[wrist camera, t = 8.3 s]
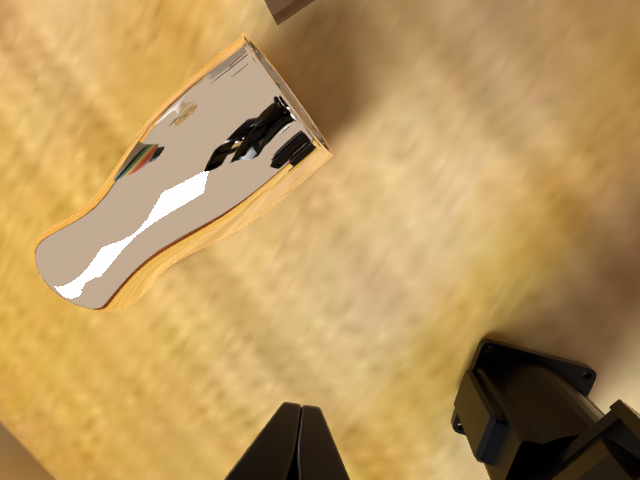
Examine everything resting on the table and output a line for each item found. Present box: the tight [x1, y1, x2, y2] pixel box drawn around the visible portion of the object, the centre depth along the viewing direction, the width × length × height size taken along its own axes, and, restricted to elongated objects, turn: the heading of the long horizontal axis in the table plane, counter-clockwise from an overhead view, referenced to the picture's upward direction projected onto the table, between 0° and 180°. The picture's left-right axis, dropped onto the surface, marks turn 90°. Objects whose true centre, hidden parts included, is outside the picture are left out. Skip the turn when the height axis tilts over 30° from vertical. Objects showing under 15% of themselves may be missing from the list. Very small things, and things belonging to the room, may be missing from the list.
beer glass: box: [34, 33, 333, 311], centre depth 17 cm, size 7×7×15 cm
